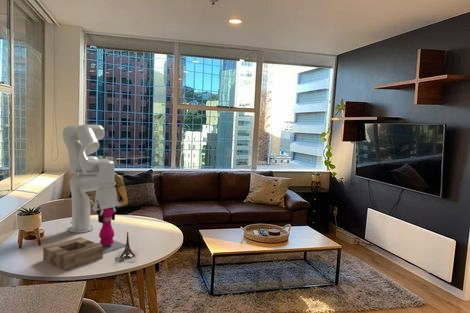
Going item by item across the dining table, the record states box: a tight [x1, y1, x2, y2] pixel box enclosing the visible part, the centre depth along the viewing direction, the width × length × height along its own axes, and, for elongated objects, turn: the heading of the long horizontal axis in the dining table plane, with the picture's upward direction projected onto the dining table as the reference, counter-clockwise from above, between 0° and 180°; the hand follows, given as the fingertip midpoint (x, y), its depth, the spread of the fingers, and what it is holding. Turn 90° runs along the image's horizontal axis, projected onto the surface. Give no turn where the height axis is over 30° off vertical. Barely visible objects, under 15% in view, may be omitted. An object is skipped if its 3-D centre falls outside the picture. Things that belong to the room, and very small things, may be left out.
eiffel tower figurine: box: [114, 231, 136, 264], centre depth 165 cm, size 15×10×13 cm
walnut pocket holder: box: [42, 236, 104, 272], centre depth 160 cm, size 18×18×6 cm
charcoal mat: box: [96, 239, 126, 255], centre depth 177 cm, size 14×14×1 cm
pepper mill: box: [98, 208, 115, 245], centre depth 176 cm, size 7×7×20 cm
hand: (106, 220), depth 176 cm, fingers closed on pepper mill, 5 cm apart
